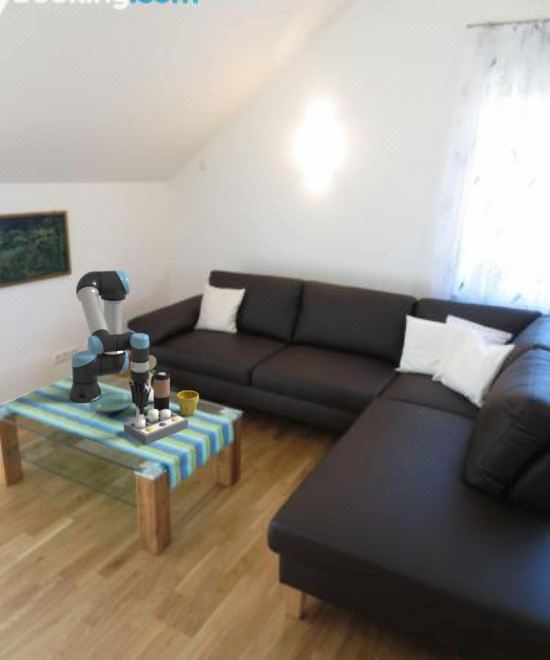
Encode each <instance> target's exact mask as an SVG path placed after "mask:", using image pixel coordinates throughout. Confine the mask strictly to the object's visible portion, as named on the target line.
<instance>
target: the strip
mask: <svg viewBox="0 0 550 660" xmlns="http://www.w3.org/2000/svg"><path fill="white" fill-rule="evenodd" d="M179 416H180V415H179ZM179 416H177V417H174V418H172V419H169V420H166V421H164V422H161V423H158V424H156V425H153V426H150V427H148V428H145V429H142V430H140V431H141V432H142V433H144V434H149V433H152V432H154V431H157V430H159V429H162V428H165V427H167V426H170V425H172V424H175V423H178V422H180V421H183V420H185V419H186V418H185V419H183V418H184V417H183V418H181V417H182V416H181V417H179Z"/></svg>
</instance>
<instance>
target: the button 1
mask: <svg viewBox="0 0 550 660" xmlns="http://www.w3.org/2000/svg"><path fill="white" fill-rule="evenodd" d="M134 420H135V427H136V428H137V429H140V428H143V427H145V419H144V420H142V421H139V422H138V421H136V418H135V419H134Z"/></svg>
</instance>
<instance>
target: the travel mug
mask: <svg viewBox="0 0 550 660" xmlns="http://www.w3.org/2000/svg"><path fill="white" fill-rule="evenodd" d="M170 378H171V373H170V371H169V370H166V371H165V370H163V369H158V370H155V372H154V375H153V390H154V391H153V397H154V402H153V409H157V410H158V411H161V410H163V409H168V410H170V397H171V395H170V394H171V392H170V391H171V390H170V389H171V387H170V386H171V385H170V383H171V379H170Z"/></svg>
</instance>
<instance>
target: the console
mask: <svg viewBox="0 0 550 660" xmlns="http://www.w3.org/2000/svg"><path fill="white" fill-rule="evenodd" d="M160 416H161V411H158V422H156V423H153V424H151V423H149V422H148V414H146V415H144V419H145V427H143V428H140V429H137V428H136V427H135V419H132V420H130V421H127V422H124V423H123V432H124V433H126V434H127V435H128V434H129V435H128V436H131V437H132V438H133V439H135V440H137V441H139V442H140V443H141V444H143V445H145V446H147V445H149V444H152V443H155V442H157V441H159V440H162V439H164V438H167V437H169V436H172V435H174V434H177V433H179V432H181V431H182V432H183V431H184V430H187V429H188V428H189V419H186V418H185V417H183V416H181V415H179V414H177V413H175V412H174V411H171V417H169V418H167V419H163V418H161V417H160ZM177 416H179V417H181V418H183V419H185V420H183V421H180V422H178V423H175V424H172V425H170V426H167V427H165V428H162V429H159V430H157V431H154V432H152V433H149V434H144V433H142V432H141V431H140V430H142V429H145V428H148V427H150V426H153V425H156V424H158V423H161V422H164V421H166V420H169V419H172V418H174V417H177Z"/></svg>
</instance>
